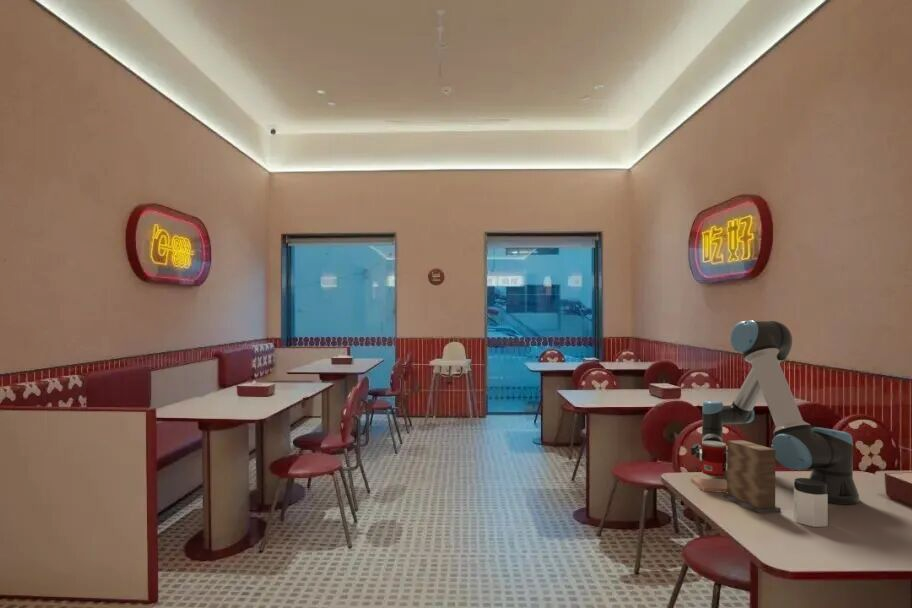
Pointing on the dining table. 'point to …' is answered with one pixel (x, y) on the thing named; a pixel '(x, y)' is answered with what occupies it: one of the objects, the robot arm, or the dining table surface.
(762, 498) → the wooden block
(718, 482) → the terracotta tile
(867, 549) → the dining table surface
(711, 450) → the canned food
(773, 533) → the dining table surface
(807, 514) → the jar
